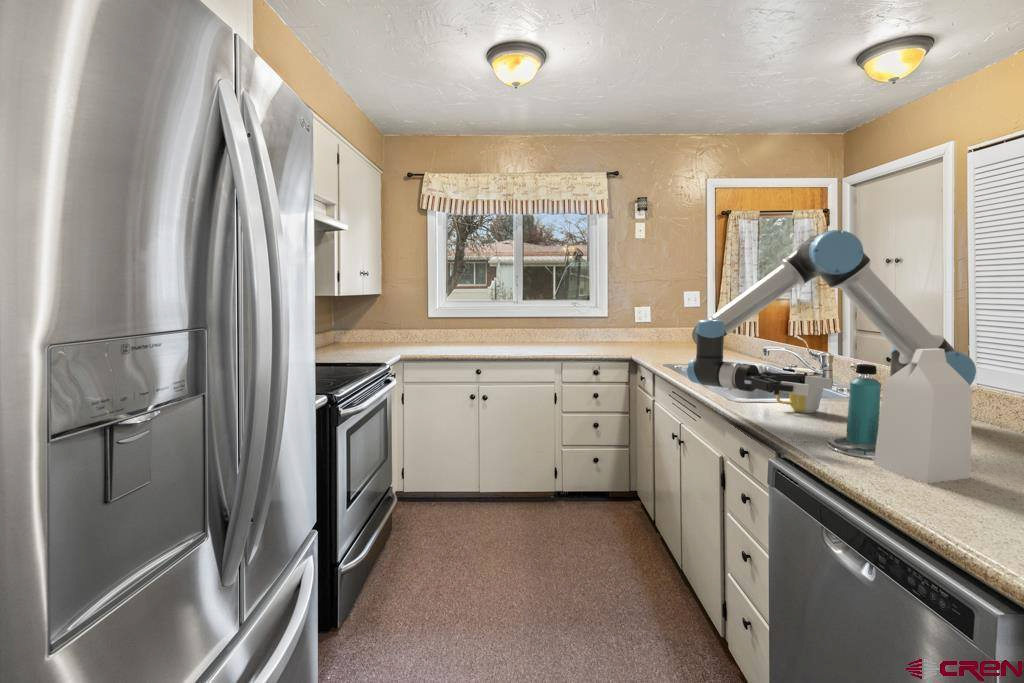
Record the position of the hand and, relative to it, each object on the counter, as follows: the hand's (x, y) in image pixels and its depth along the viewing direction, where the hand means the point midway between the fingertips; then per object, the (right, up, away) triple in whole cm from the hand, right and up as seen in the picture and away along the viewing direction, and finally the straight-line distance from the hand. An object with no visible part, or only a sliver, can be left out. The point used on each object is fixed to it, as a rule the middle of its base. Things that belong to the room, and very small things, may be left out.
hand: (820, 387), depth 136 cm
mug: (+13, -11, +34) cm, 38 cm away
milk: (+9, -16, -22) cm, 28 cm away
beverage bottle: (+6, -14, -6) cm, 16 cm away
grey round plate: (+6, -14, -6) cm, 17 cm away
